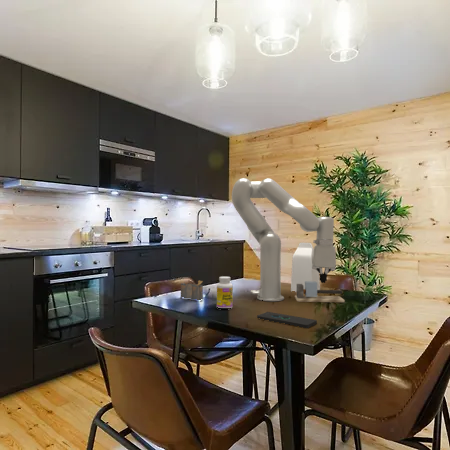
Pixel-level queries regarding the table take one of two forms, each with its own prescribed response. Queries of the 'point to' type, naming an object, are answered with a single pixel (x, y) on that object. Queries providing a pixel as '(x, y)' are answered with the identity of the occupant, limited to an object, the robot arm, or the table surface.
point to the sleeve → (311, 288)
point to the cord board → (319, 298)
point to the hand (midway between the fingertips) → (323, 282)
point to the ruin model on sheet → (192, 290)
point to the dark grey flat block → (288, 319)
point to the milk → (303, 267)
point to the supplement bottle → (224, 293)
